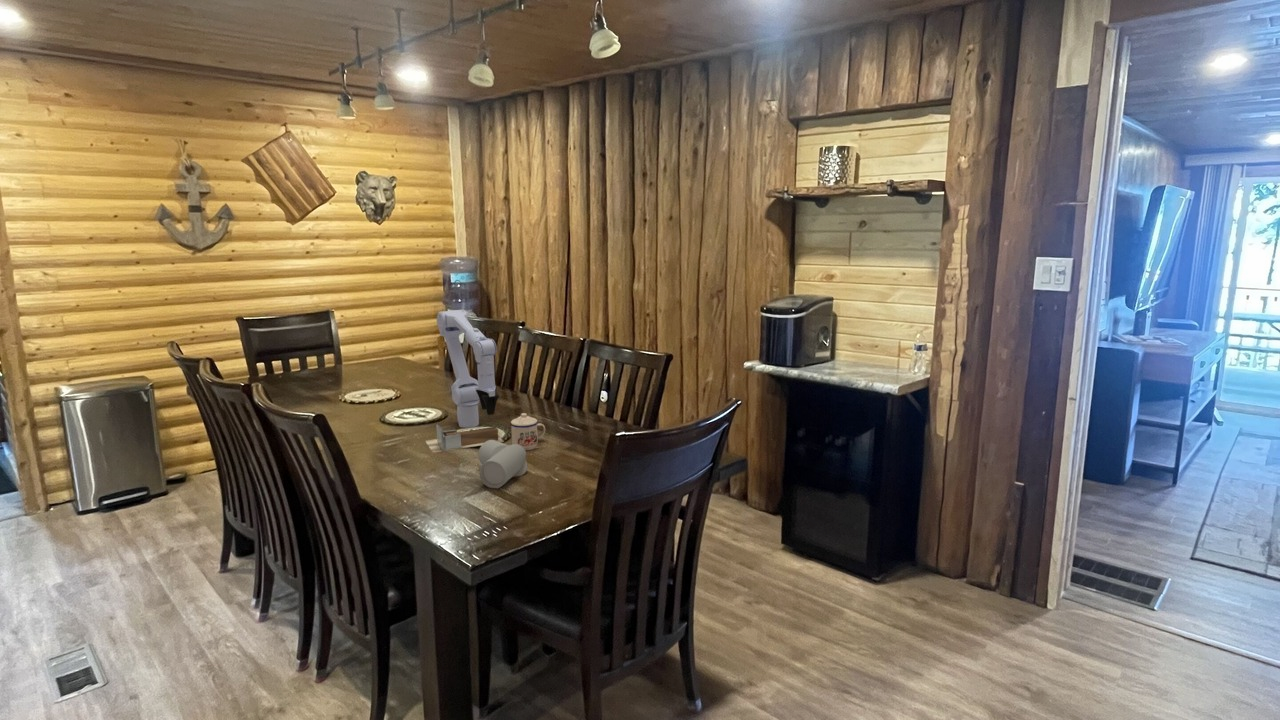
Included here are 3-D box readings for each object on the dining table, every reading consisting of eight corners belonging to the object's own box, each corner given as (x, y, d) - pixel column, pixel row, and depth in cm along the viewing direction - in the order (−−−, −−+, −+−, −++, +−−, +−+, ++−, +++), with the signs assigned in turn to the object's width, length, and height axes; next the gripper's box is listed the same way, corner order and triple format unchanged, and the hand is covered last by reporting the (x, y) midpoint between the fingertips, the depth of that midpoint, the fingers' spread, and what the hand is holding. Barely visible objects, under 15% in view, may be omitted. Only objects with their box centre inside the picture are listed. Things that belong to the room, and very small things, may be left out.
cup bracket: (437, 444, 236) (436, 424, 235) (456, 441, 239) (455, 421, 238) (442, 451, 229) (441, 430, 228) (461, 448, 232) (460, 428, 231)
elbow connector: (546, 471, 210) (506, 456, 224) (538, 441, 206) (499, 427, 220) (498, 501, 199) (460, 482, 212) (490, 469, 195) (451, 452, 209)
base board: (425, 443, 241) (424, 440, 240) (493, 433, 251) (493, 430, 251) (433, 455, 228) (432, 452, 228) (504, 444, 239) (504, 441, 239)
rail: (446, 445, 236) (445, 433, 235) (495, 437, 243) (495, 426, 242) (448, 448, 232) (447, 436, 232) (498, 440, 240) (497, 429, 239)
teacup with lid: (517, 452, 231) (515, 419, 228) (507, 445, 238) (506, 412, 236) (550, 446, 236) (549, 413, 234) (540, 439, 244) (539, 407, 242)
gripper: (469, 371, 247) (471, 407, 250) (479, 379, 234) (481, 418, 237) (489, 369, 250) (491, 405, 253) (500, 377, 237) (502, 415, 240)
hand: (488, 411), depth 245 cm, fingers open, 7 cm apart
